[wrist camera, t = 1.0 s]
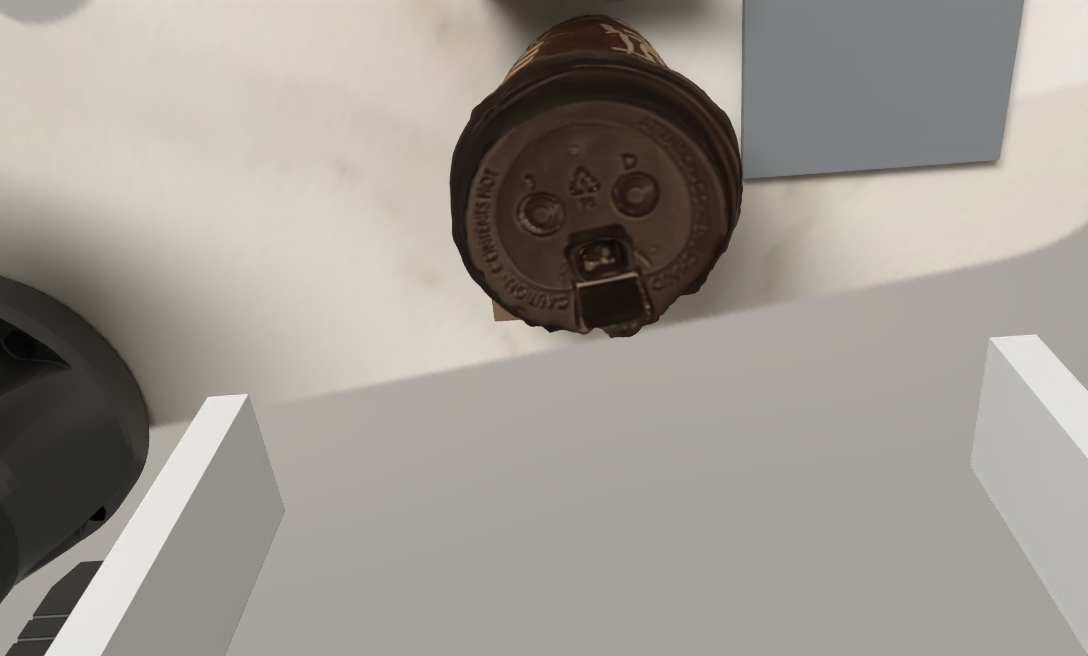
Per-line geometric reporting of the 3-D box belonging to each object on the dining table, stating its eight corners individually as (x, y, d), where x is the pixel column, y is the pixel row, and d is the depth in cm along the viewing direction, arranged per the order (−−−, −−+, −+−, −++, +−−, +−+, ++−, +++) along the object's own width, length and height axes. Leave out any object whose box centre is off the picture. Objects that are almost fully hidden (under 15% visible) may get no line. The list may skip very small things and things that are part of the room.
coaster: (740, 173, 37) (743, 179, 37) (743, -93, 32) (746, -92, 32) (993, 155, 36) (999, 159, 36) (1034, -122, 32) (1042, -121, 31)
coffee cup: (629, 235, 39) (647, 405, 27) (450, 152, 37) (390, 296, 26) (736, 46, 35) (809, 155, 23) (540, -55, 33) (516, 9, 22)
